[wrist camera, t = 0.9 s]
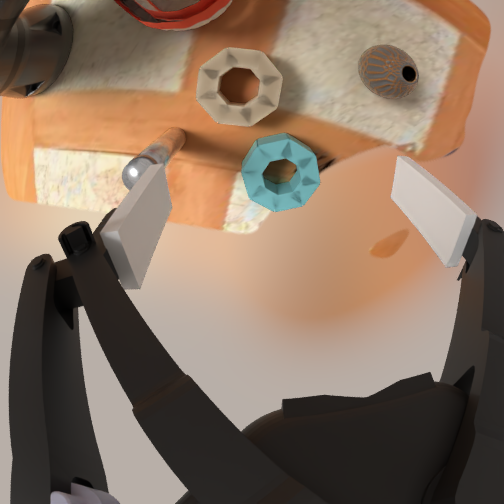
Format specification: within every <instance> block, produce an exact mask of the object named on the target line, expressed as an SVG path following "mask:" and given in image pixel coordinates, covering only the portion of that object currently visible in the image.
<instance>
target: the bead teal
mask: <svg viewBox="0 0 504 504" xmlns="http://www.w3.org/2000/svg"><path fill="white" fill-rule="evenodd" d="M285 158H286V159H288V160H289V161H291V162H293V163H294V164H296V167H297V171H296V173H295V174H294V176H293V177H292V178H291V180H290V181H289V182H284V183H280V184H274V183H272V182H271V181H269V180H267V179H265V178H264V176H263V171H264V170H265V168H266V167H267V165H268V164H269V162H271V161H275V160H280V159H285ZM241 173H242V176H243V180H244V183H245V187H246V190H247V193H248V197H249V198H250V200H252V201H254V202H256V203H258V204H260V205H262V206H264V207H266V208H267V209H269V210H271V211H273V212H274V211H275V212H278V211H283V210H288V209H292V208H297V207H302V205H305V203H306V202H307V201H308V199H309V198H310V197H311V195H312V194H313V193H314V191H315V190H316V189H317V187H318V186H319V185H320V177H319V171H318V165H317V160H316V156H315V154H314V153H313V151H312V150H311V149H310V147H308V146H307V145H305V144H304V143H302V142H301V141H299V140H297V139H296V138H294V137H293V136H291V135H289V134H288V133H281V134H276V135H271V136H267V137H263V138H258V140H256V141H255V142H254V144H253V146H252V147H251V149H250V150H249V152H248V153H247V155H246V157H245V158H244V160H243V161H242V170H241Z"/></svg>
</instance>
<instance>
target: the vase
mask: <svg viewBox="0 0 504 504" xmlns="http://www.w3.org/2000/svg"><path fill="white" fill-rule="evenodd" d="M358 69H359V74H360V77H361V79H362V81H363V83H364V84H365V85H366V86H367V87H368V88H369V89H370V90H371V91H372V92H374V93H375V94H377V95H380V96H382V97H386V98H401V97H404V96H406V95H408V94H410V93H411V92H412V91H413V90H414V89H415V87H416V85H417V82H418V77H419V75H418V70H417V67H416V65H415V63H414V61H413V60H412V58H411V57H410V56H409V55H408V54H407V53H406V52H404V51H403V50H401V49H399V48H397V47H394V46H390V45H377V46H374V47H371V48H369V49H368V50H366V51H365V52H364V53H363V55H362V56H361V58H360V61H359V66H358Z"/></svg>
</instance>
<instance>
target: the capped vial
mask: <svg viewBox="0 0 504 504" xmlns="http://www.w3.org/2000/svg"><path fill="white" fill-rule="evenodd" d="M185 141H186V135H185V133H184V131H183V130H182V129H180V128H177V127H173V128H170V129H168V130H167V131H166V132H165V133H163V134H162V135H161V136H160V137H159V138H157V139H156V140H155V141H154V142H153V143H151V144H150V145H149V146H148V147H147V148H146V149H144V150H143V151H142V152H141V153H140V154H139V155H138V156H136V157H135V158H133V159H132V160H131V161H130V162H129V163H128V165H127V166H126V167H125V168H124V170H123V173H122V180H123V183H124V185H125V186H126V187H127V189H129V190H131V189H132V187H133V186H134V185H135V184H136V182H137V181H138V180H139V179H140V177H141V176H142V175H143V174H144V172H145V171H146V170H147V169H148V167H149V166H150V165H154V164H161V163H163V164H164V169H165V168H166V166H167V165H168V164H169V163H170V161H171V160H172V159H173V157H174V156H175V155H176V154H177V152H178V151H179V150H180V149H181V147H182V146H183V145H184V144H185Z"/></svg>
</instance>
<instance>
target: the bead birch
mask: <svg viewBox="0 0 504 504" xmlns="http://www.w3.org/2000/svg"><path fill="white" fill-rule="evenodd" d="M234 67H236V68H245V69H251V71H252V72H253V73H254V74H255V75H256V77H257V78H258V79H259V80H260V83H259V89H258V95H257V96H255V97H254V98H252V99H251V100H249V101H248V102H247V103H245V104H244V103H235V102H229V101H228V99H227V98H226V97H225V96H224V95H223V94H222V93H221V91H220V87H221V79H222V76H223V75H224V74H226V73H227V72H229V71H230V70H231V69H233V68H234ZM200 68H201V69H199V73H198V82H197V91H196V98H197V101H198V103H199V104H200V105H201V106H202V107H203V108H204V109H205V110H206V112H207V113H208V114H209V115H210V116H211V117H212V118H213V119H214V121H215V122H216V123H217V122H218V124H229V125H238V126H246V127H249V126H252V125H254V124H255V123H257V122H258V121H260V120H261V119H262V118H264V117H265V116H267V115H268V114H270V113H271V112H273V111H274V110H276V109H277V108H276V107H278V103H279V98H280V92H281V86H282V81H283V78H282V75H281V73H280V72H279V71H278V70H277V68H276V67H275V66H274V65H273V63H272V62H271V61H270V60H269V59H268V57H267V56H266V55H265V54H264V53H263V52H262V53H261V51H259V50H251V49H242V48H231V47H228V49H227V48H225V49H223V50H222V51H221V52H219V53H218V54H217V55H215V56H214V57H212V58H211V59H210V60H208V61H207V62H206V63H205V64H203V65H202V66H201V67H200Z"/></svg>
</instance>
